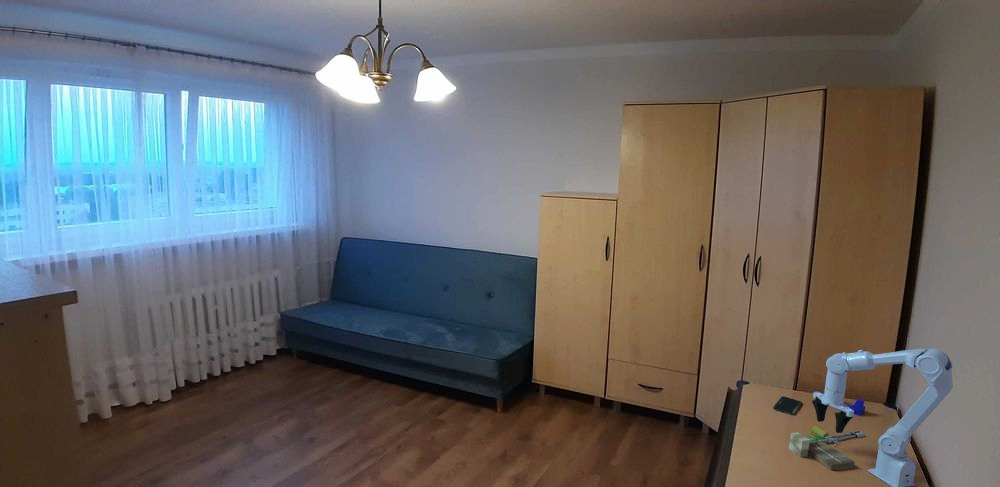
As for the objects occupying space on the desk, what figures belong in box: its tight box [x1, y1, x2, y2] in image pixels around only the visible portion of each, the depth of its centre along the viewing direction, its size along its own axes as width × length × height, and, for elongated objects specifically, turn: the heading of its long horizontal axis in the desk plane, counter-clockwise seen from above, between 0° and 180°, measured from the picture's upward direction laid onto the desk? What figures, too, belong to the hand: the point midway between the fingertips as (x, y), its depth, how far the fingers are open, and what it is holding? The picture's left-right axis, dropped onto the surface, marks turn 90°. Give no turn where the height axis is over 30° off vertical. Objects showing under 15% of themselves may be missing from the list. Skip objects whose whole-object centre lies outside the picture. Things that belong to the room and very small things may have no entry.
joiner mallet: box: [788, 431, 818, 458], centre depth 180 cm, size 5×8×6 cm, turn 103°
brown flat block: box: [808, 440, 856, 471], centre depth 176 cm, size 13×9×2 cm
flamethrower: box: [806, 425, 865, 447], centre depth 190 cm, size 29×3×10 cm
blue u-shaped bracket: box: [843, 398, 866, 417], centre depth 214 cm, size 12×4×6 cm, turn 28°
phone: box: [772, 396, 803, 416], centre depth 214 cm, size 8×1×15 cm
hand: (829, 426), depth 179 cm, fingers open, 7 cm apart
